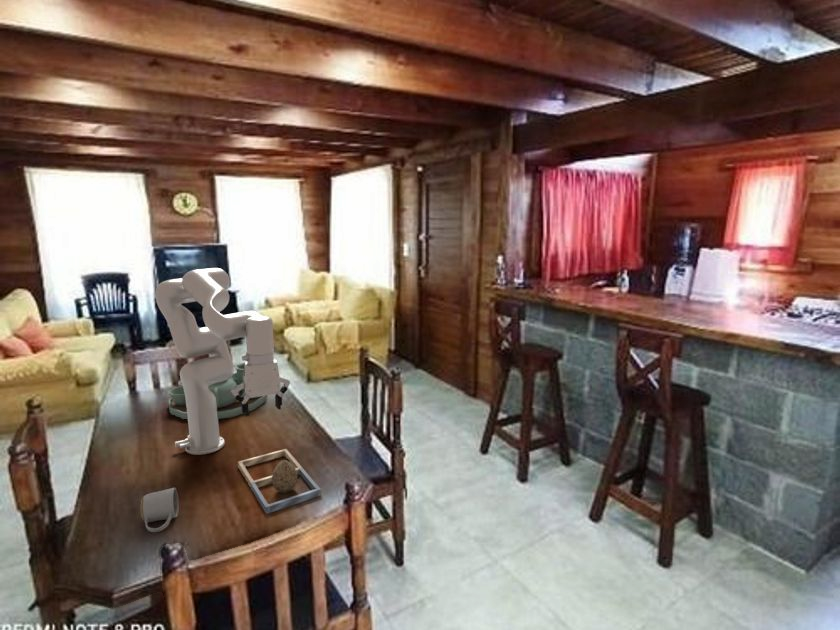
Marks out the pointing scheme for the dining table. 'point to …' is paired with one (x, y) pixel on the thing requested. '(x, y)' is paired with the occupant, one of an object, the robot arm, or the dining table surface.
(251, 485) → the frame
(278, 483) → the decorative egg
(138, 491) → the dining table surface
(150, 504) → the ceramic mug
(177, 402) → the tea set
